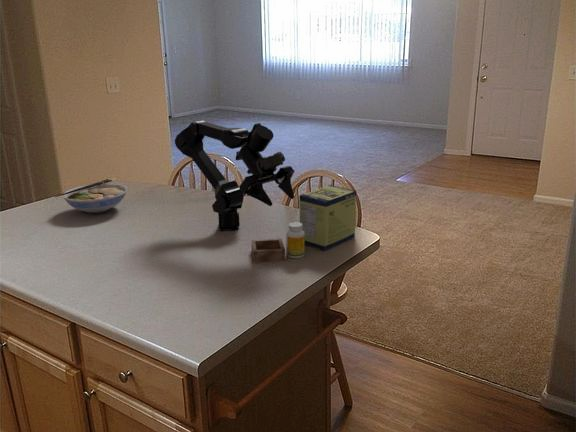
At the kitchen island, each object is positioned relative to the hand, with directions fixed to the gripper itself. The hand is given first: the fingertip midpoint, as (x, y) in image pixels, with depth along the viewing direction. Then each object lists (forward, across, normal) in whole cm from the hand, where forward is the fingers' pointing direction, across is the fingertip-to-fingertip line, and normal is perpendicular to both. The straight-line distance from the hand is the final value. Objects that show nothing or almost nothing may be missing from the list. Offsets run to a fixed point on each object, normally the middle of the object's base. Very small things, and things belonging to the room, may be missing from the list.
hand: (282, 201), depth 156 cm
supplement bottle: (+15, -2, +6) cm, 16 cm away
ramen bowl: (-48, -22, +61) cm, 81 cm away
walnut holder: (+11, -8, +10) cm, 16 cm away
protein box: (+14, +13, +7) cm, 21 cm away
